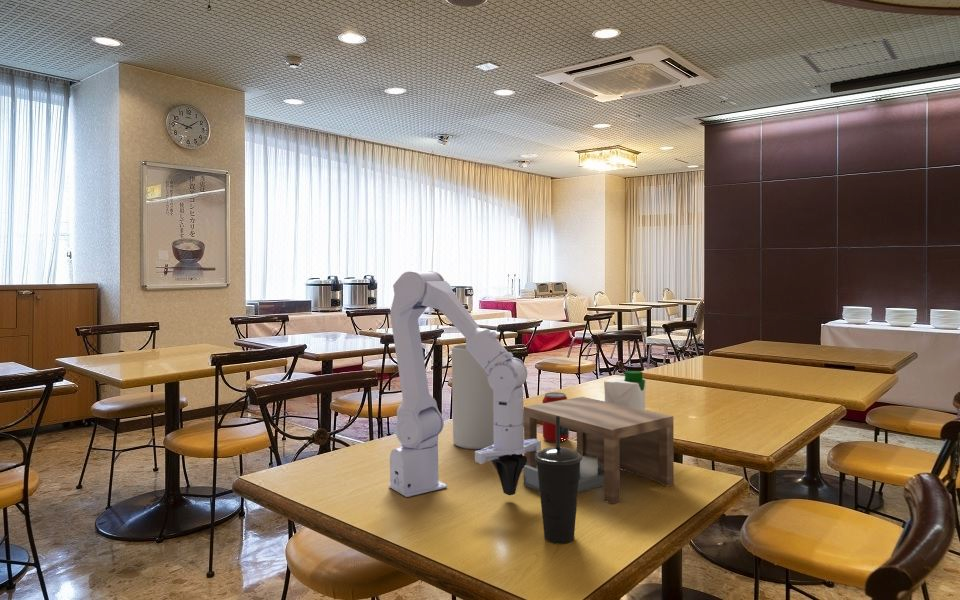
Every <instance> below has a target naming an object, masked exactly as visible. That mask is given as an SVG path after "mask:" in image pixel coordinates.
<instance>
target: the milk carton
mask: <svg viewBox="0 0 960 600" xmlns="http://www.w3.org/2000/svg"><path fill="white" fill-rule="evenodd" d="M624 371H625V370H624ZM643 377H644V376H643V371H641V370H626V371H625V372H624V377H623V376H622V377H620V376H613V377H611V378H609V379H606V380H605V381H604V382H603V387H604V388H603V389H604V390H603V391H604V401H605V402H610V403H614V404H619V405H624V406H628V407H633V408H638V409H642V410H646V385H647V383H646V382H647V380H646V378H643Z"/></svg>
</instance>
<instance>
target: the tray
mask: <svg viewBox="0 0 960 600" xmlns="http://www.w3.org/2000/svg"><path fill="white" fill-rule="evenodd" d="M575 451H576V452H578V453H580V454H581V455H582V460H581V461H580V470H579V482H578V494H580V493H583V492H586V491H589V490H593V489H596V488H600V487H603V486H604V468H601V467H599V462H598V458H597V457H594V456H583V454H582V452H579V451H577V450H575ZM522 471H523V474H522V475H523V486H525V487H527V488H529V489H531V490H533V491H536V492H538V493H540V489H539V479H538V469H536V468H534V467H531V466H528V465H525V466H524V468H523V469H522Z"/></svg>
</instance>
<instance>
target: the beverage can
mask: <svg viewBox="0 0 960 600" xmlns="http://www.w3.org/2000/svg"><path fill="white" fill-rule="evenodd" d="M566 399H568V397H567V394H566V393H564V392H546V393H544V397H543V399H542V404H543V403H548V402H554V401H560V400H566ZM569 432H570V429H569V428H566V427H562V426H560V443H562V440H563V442H565V441H564V439H566V440H568V439H569V437H570V433H569ZM542 438H543V439H544V440H546V441H547V440H548V441H547V442H549V441H550V442H551V443H556V425H555V424H552V423H548V422H544V421H542ZM561 438H563V439H561Z"/></svg>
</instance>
